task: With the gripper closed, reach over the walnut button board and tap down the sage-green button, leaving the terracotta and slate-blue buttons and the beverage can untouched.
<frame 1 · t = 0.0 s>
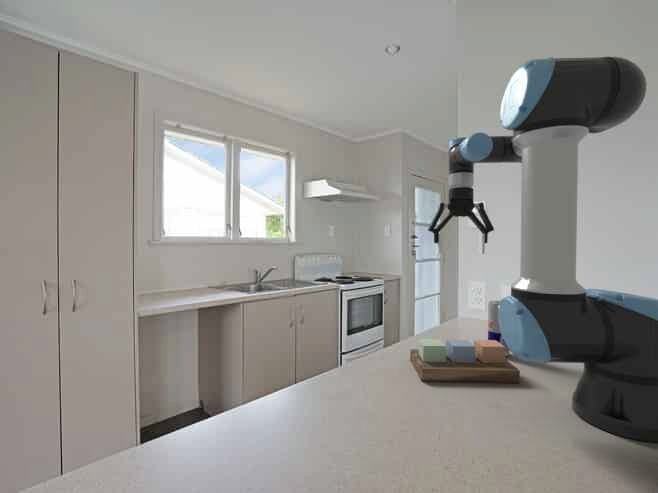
hand: (460, 253, 112), 28 cm above the worktop, fingers open, 13 cm apart
terracotta button: (489, 351, 86), point 5 cm above the worktop, slide at 0.0 cm
beverage can: (498, 354, 98), on the worktop
slate button: (460, 350, 86), point 5 cm above the worktop, slide at 0.0 cm
board: (460, 370, 86), on the worktop
sage button: (431, 350, 86), point 5 cm above the worktop, slide at 0.0 cm
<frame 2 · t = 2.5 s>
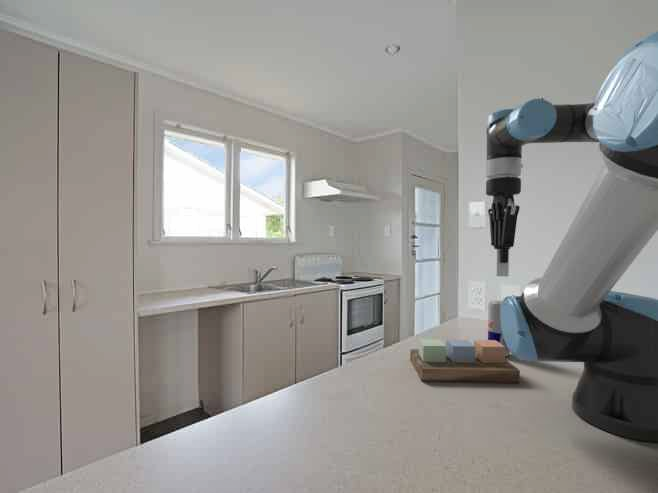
hand: (501, 275, 84), 24 cm above the worktop, fingers closed
nothing on the worktop moved.
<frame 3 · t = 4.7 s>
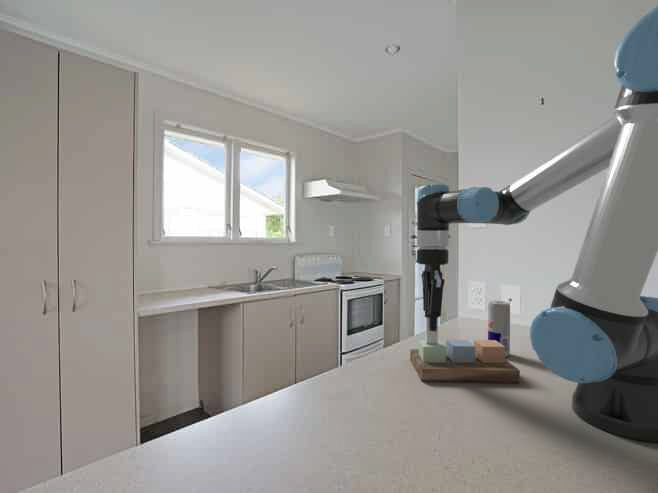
hand: (431, 342, 86), 7 cm above the worktop, fingers closed
sage button: (431, 351, 86), point 5 cm above the worktop, slide at 0.3 cm, touching gripper
everything else where it was.
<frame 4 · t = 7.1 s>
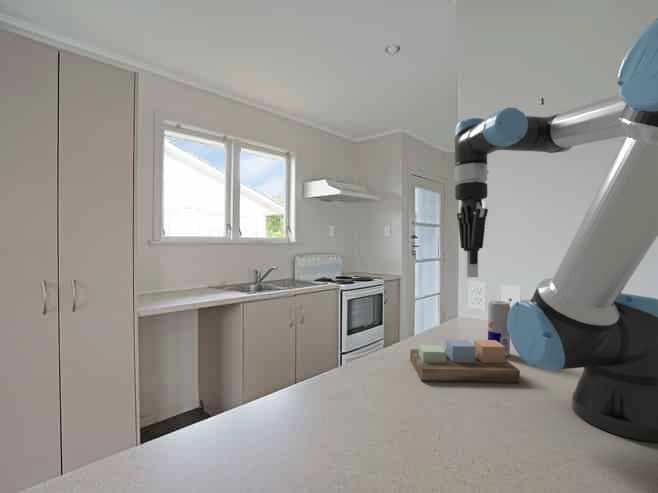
hand: (471, 276, 87), 23 cm above the worktop, fingers closed
sage button: (431, 356, 86), point 4 cm above the worktop, slide at 1.5 cm
everything else where it was.
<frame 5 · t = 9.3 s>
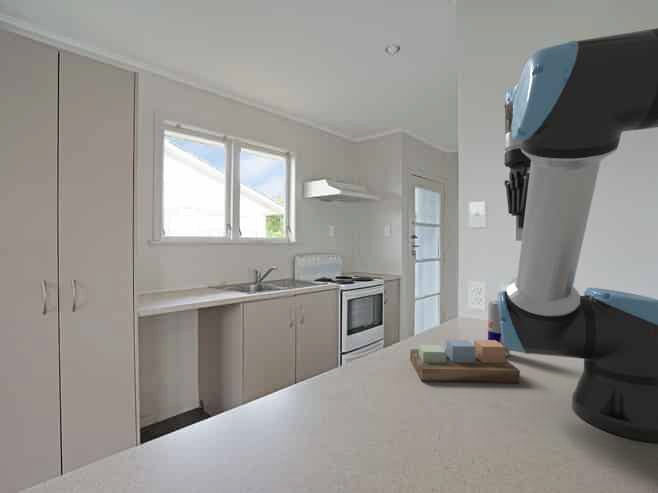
hand: (519, 240, 91), 32 cm above the worktop, fingers closed
nothing on the worktop moved.
at the end: sage button slide at 1.5 cm; terracotta button slide at 0.0 cm; slate button slide at 0.0 cm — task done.
